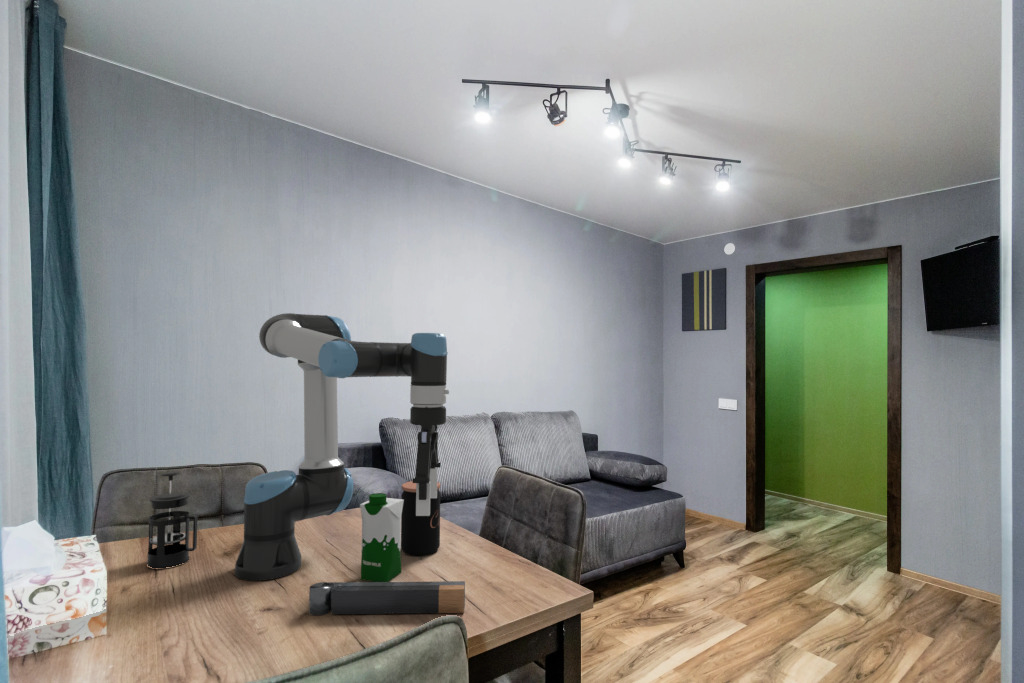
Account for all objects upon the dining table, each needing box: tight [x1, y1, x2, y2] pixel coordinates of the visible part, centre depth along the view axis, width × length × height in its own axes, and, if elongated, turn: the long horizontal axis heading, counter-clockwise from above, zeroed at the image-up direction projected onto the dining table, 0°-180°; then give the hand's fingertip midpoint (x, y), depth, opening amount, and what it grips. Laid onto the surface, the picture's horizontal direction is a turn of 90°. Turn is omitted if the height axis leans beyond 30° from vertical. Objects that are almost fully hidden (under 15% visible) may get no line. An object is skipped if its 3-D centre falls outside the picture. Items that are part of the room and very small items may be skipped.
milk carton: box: [359, 492, 404, 582], centre depth 131 cm, size 9×9×20 cm
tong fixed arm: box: [308, 580, 466, 617], centre depth 113 cm, size 32×4×5 cm, turn 92°
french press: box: [146, 471, 198, 568], centre depth 139 cm, size 12×9×23 cm
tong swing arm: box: [331, 584, 466, 615], centre depth 112 cm, size 27×2×5 cm, turn 92°
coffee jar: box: [401, 480, 441, 557], centre depth 149 cm, size 11×11×18 cm
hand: (427, 506), depth 114 cm, fingers open, 13 cm apart
